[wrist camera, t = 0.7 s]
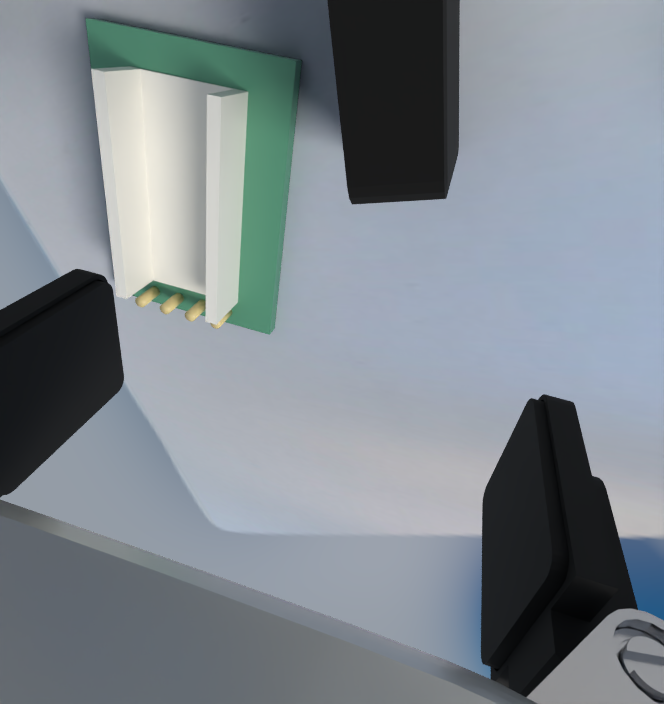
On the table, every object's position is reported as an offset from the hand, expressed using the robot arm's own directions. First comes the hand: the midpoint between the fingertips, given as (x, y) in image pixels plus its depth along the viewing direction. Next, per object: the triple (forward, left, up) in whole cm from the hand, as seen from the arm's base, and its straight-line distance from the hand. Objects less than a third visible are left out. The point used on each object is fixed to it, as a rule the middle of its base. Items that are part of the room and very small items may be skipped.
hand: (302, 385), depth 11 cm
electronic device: (-5, -1, -22) cm, 23 cm away
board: (+5, -14, -22) cm, 27 cm away
